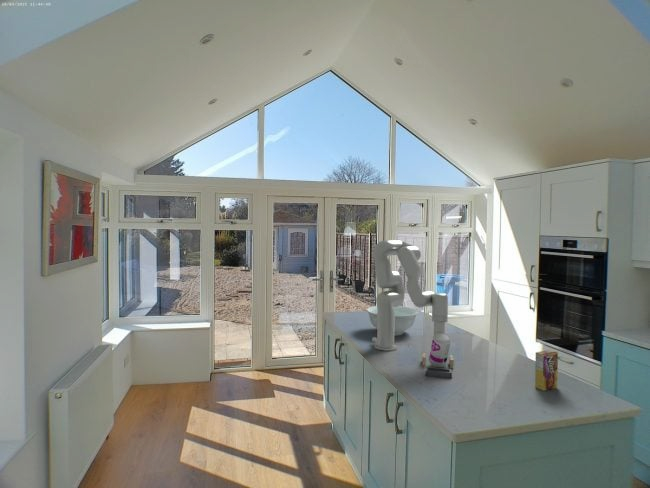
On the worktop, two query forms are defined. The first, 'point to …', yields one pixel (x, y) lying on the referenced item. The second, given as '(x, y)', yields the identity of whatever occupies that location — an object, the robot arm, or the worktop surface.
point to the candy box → (546, 370)
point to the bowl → (396, 318)
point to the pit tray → (438, 372)
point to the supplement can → (439, 349)
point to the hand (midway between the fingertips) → (439, 354)
